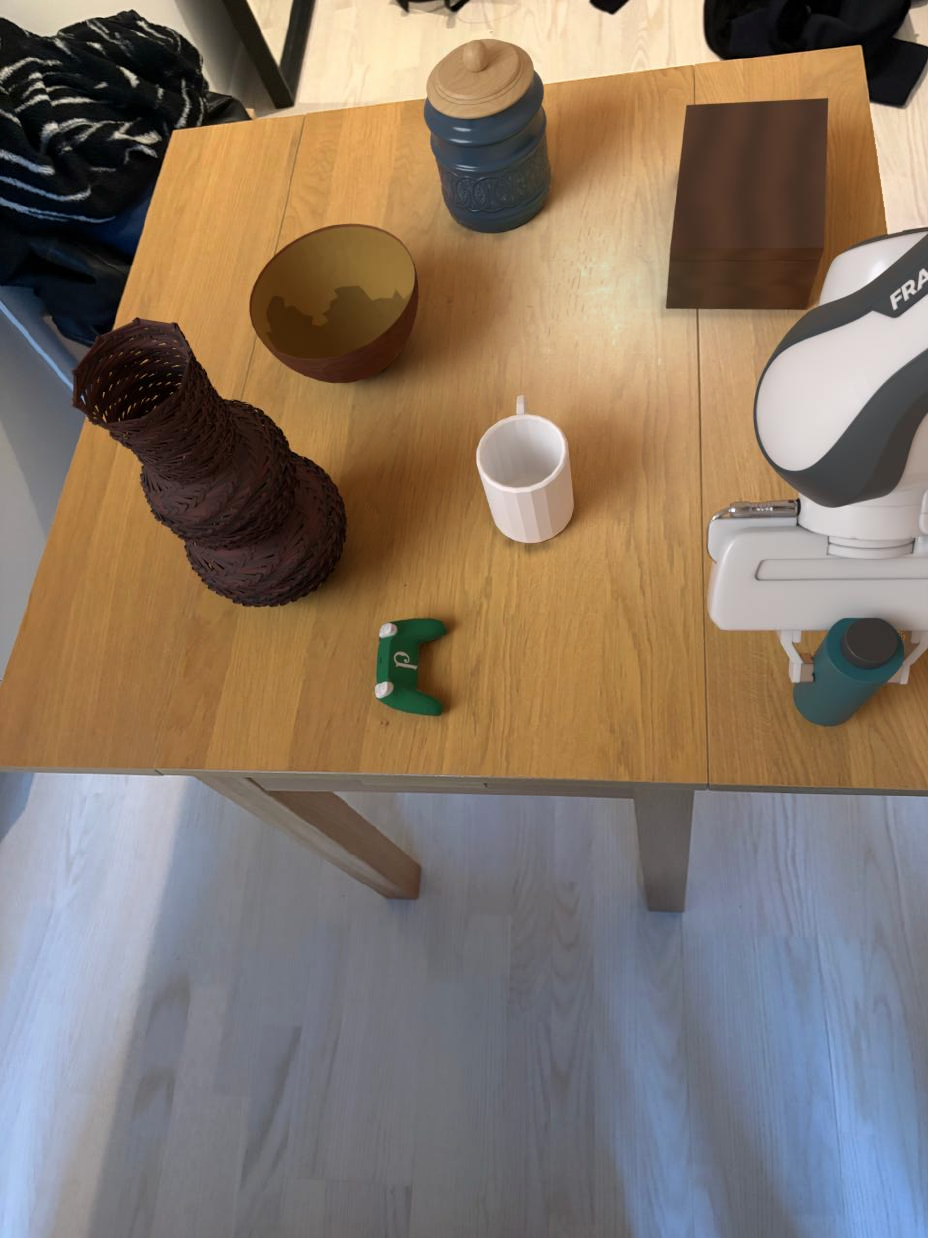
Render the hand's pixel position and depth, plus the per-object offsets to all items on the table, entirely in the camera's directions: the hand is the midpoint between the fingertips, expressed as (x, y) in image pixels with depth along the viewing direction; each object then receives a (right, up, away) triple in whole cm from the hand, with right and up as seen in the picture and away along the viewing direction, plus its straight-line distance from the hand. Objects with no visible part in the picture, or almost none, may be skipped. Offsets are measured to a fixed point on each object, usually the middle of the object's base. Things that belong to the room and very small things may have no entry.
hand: (846, 680), depth 59 cm
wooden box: (+2, +46, +27) cm, 54 cm away
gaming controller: (-33, 0, +15) cm, 36 cm away
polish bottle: (+1, -2, +6) cm, 7 cm away
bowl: (-40, +34, +31) cm, 61 cm away
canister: (-24, +55, +36) cm, 70 cm away
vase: (-46, +10, +22) cm, 52 cm away
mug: (-22, +17, +20) cm, 34 cm away
